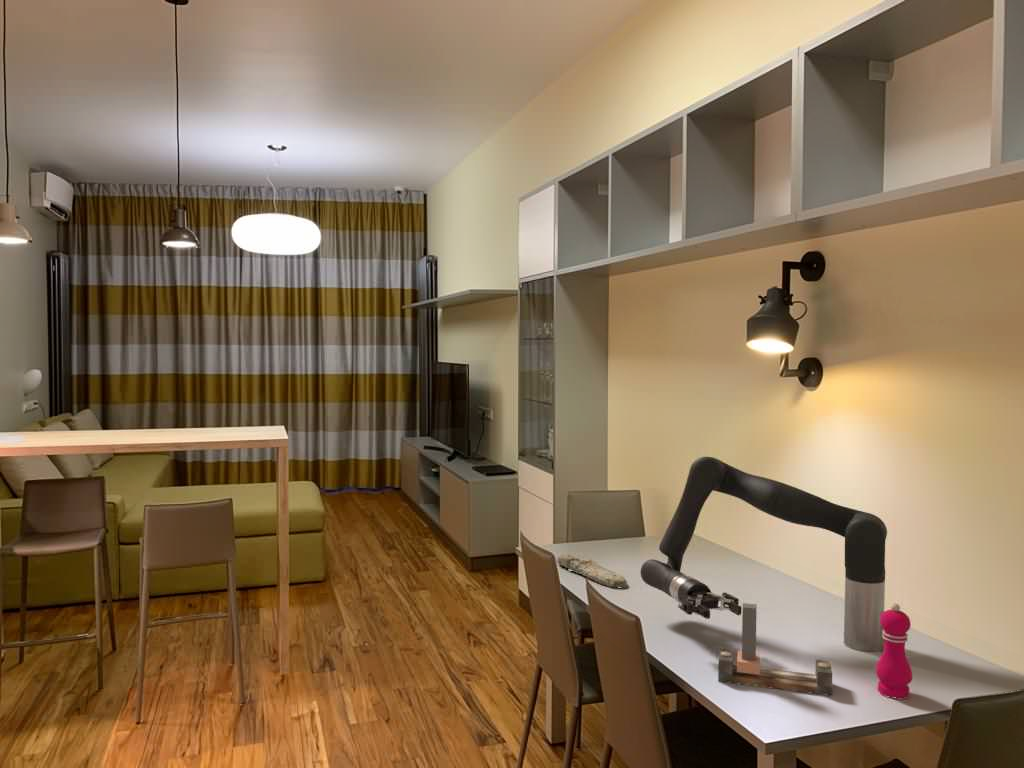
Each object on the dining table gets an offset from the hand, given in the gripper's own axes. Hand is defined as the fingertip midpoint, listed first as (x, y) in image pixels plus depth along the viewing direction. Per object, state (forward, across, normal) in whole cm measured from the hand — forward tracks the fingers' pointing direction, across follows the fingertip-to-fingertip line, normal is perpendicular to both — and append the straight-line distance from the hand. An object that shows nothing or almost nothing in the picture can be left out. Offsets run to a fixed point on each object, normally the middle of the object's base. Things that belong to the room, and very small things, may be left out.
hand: (724, 613), depth 191 cm
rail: (+13, +5, +12) cm, 18 cm away
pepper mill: (+26, +26, +12) cm, 39 cm away
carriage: (+10, 0, +9) cm, 14 cm away
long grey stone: (-76, -2, +13) cm, 78 cm away
